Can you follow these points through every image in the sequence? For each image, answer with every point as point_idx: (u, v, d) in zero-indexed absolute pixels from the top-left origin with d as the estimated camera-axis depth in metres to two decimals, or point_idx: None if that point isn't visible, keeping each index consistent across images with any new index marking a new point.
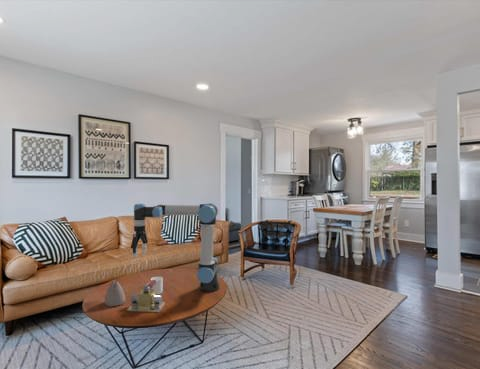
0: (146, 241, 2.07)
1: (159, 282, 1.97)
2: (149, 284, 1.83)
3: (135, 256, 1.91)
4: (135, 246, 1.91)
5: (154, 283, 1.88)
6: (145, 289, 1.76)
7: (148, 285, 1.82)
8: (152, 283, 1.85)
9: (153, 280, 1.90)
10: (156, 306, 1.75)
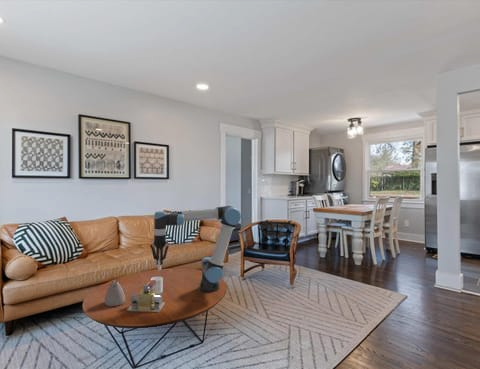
0: (163, 258, 1.85)
1: (159, 282, 1.97)
2: (149, 284, 1.83)
3: None
4: (156, 258, 1.85)
5: (154, 283, 1.88)
6: (145, 289, 1.76)
7: (148, 285, 1.82)
8: (152, 283, 1.85)
9: (153, 280, 1.90)
10: (156, 306, 1.75)
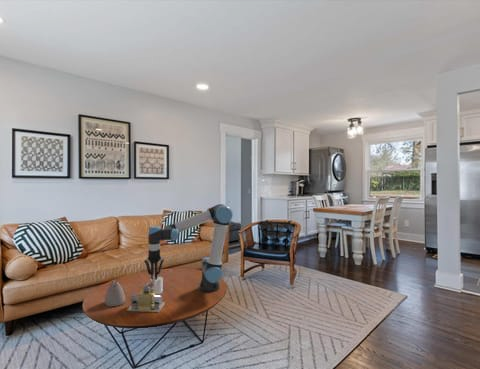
0: (157, 273, 1.86)
1: (159, 282, 1.97)
2: (149, 284, 1.83)
3: None
4: (151, 273, 1.85)
5: None
6: (145, 289, 1.76)
7: (148, 285, 1.82)
8: (152, 283, 1.85)
9: None
10: (156, 306, 1.75)
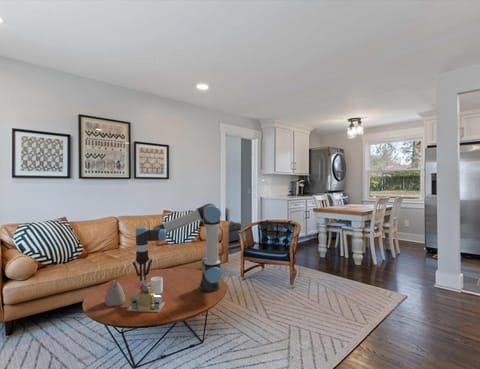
0: (146, 273, 1.85)
1: (159, 282, 1.97)
2: (142, 285, 1.81)
3: None
4: (140, 274, 1.83)
5: None
6: (148, 289, 1.77)
7: (143, 286, 1.80)
8: (142, 284, 1.83)
9: (136, 282, 1.86)
10: (156, 306, 1.75)
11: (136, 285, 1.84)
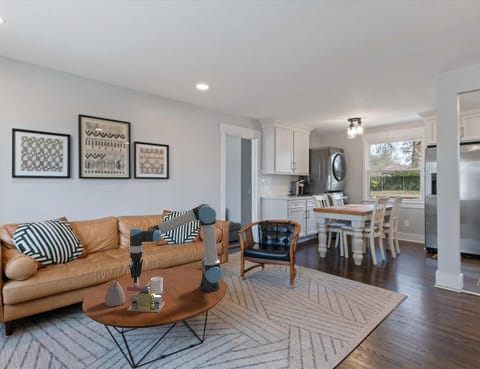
0: None
1: (159, 282, 1.97)
2: (139, 287, 1.78)
3: None
4: (135, 276, 1.80)
5: None
6: (149, 288, 1.78)
7: (140, 287, 1.78)
8: (137, 286, 1.80)
9: (128, 286, 1.79)
10: (156, 306, 1.75)
11: (130, 288, 1.78)
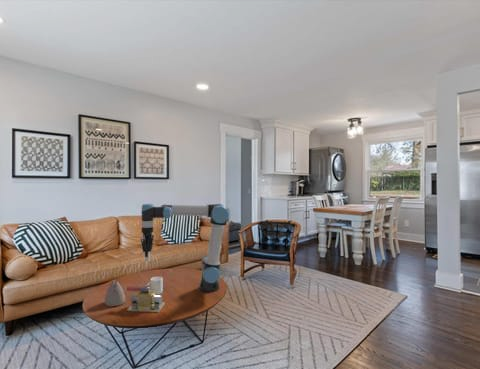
0: None
1: (159, 282, 1.97)
2: (139, 287, 1.78)
3: (147, 260, 1.88)
4: (147, 250, 1.86)
5: None
6: (149, 288, 1.78)
7: (140, 287, 1.78)
8: (137, 286, 1.80)
9: (128, 286, 1.79)
10: (156, 306, 1.75)
11: (130, 288, 1.78)
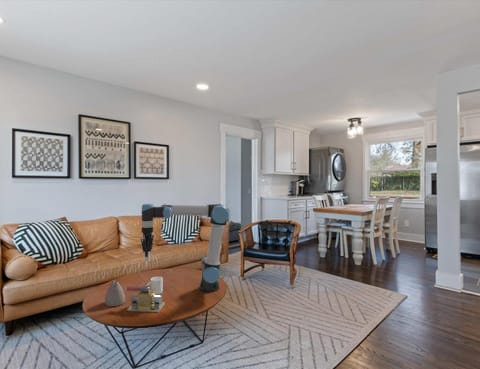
0: None
1: (159, 282, 1.97)
2: (139, 287, 1.78)
3: (147, 260, 1.88)
4: (147, 250, 1.87)
5: None
6: (149, 288, 1.78)
7: (140, 287, 1.78)
8: (137, 286, 1.80)
9: (128, 286, 1.79)
10: (156, 306, 1.75)
11: (130, 288, 1.78)
